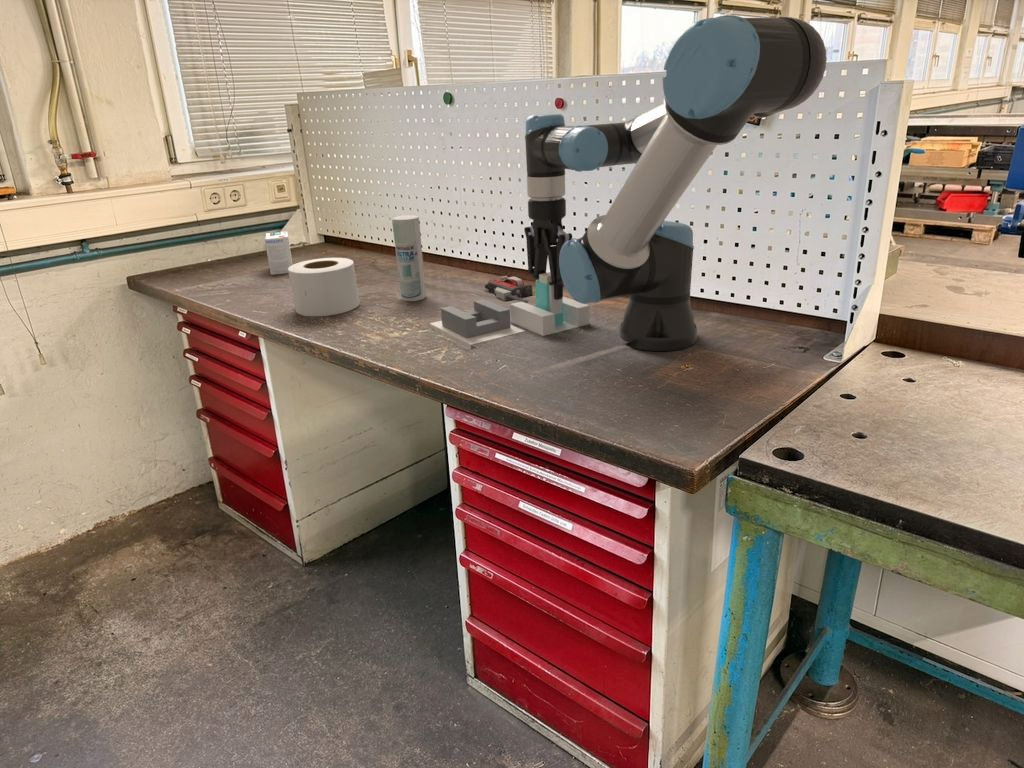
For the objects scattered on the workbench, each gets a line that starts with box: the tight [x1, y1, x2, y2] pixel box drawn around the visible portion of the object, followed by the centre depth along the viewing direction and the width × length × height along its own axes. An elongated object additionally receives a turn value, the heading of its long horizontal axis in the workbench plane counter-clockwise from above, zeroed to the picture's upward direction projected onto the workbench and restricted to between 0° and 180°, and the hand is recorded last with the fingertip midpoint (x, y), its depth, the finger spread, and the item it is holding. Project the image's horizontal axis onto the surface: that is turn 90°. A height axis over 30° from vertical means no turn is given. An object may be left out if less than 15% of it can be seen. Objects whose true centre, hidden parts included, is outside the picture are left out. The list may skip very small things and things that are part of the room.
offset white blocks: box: [509, 296, 591, 337], centre depth 146 cm, size 12×12×5 cm
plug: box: [534, 271, 563, 325], centre depth 145 cm, size 4×4×10 cm
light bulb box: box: [264, 231, 294, 276], centre depth 209 cm, size 11×7×11 cm, turn 17°
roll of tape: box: [288, 257, 361, 317], centre depth 168 cm, size 16×15×11 cm
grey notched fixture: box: [429, 298, 525, 350], centre depth 146 cm, size 18×13×5 cm
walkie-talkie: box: [484, 275, 533, 304], centre depth 171 cm, size 9×4×20 cm
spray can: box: [391, 214, 427, 302], centre depth 170 cm, size 6×6×20 cm
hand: (549, 310), depth 146 cm, fingers closed on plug, 4 cm apart
